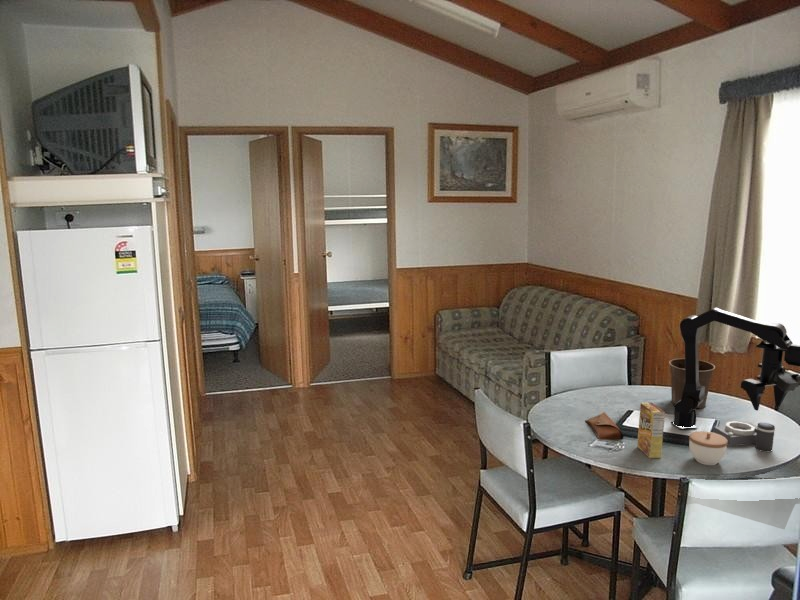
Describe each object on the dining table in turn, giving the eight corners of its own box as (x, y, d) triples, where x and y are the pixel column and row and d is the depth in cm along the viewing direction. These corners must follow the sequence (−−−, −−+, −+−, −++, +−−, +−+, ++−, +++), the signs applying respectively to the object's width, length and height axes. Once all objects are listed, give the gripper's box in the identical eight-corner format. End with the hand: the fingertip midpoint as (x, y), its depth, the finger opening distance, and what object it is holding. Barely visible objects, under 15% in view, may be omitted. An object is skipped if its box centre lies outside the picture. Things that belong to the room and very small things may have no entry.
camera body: (730, 445, 210) (731, 432, 209) (712, 434, 219) (714, 422, 218) (765, 442, 212) (767, 430, 212) (747, 432, 221) (748, 419, 220)
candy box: (636, 447, 210) (639, 402, 207) (648, 446, 210) (652, 402, 207) (649, 458, 201) (652, 412, 198) (662, 457, 201) (665, 411, 199)
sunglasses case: (582, 419, 233) (592, 404, 232) (598, 429, 234) (608, 414, 233) (598, 440, 215) (610, 423, 214) (616, 449, 216) (627, 433, 215)
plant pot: (711, 414, 238) (715, 372, 235) (664, 407, 245) (667, 367, 242) (711, 400, 253) (715, 361, 249) (667, 394, 259) (670, 356, 256)
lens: (762, 452, 205) (764, 428, 204) (751, 446, 210) (753, 422, 208) (776, 451, 206) (778, 427, 204) (764, 445, 211) (767, 421, 209)
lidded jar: (716, 454, 204) (719, 426, 202) (731, 469, 194) (734, 440, 192) (682, 453, 205) (684, 425, 203) (695, 468, 194) (697, 439, 192)
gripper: (771, 372, 196) (766, 420, 198) (816, 366, 201) (810, 413, 204) (741, 362, 206) (737, 408, 209) (785, 357, 212) (780, 402, 215)
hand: (767, 408), depth 209 cm, fingers open, 9 cm apart
